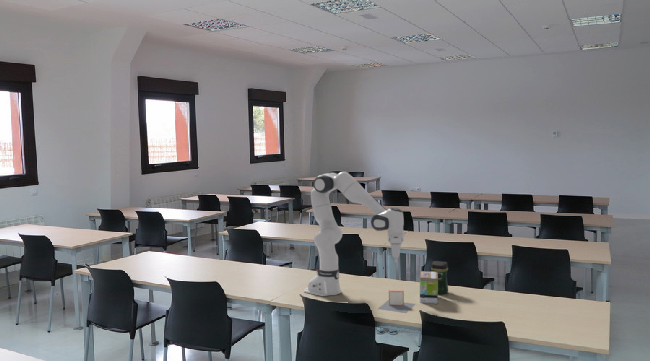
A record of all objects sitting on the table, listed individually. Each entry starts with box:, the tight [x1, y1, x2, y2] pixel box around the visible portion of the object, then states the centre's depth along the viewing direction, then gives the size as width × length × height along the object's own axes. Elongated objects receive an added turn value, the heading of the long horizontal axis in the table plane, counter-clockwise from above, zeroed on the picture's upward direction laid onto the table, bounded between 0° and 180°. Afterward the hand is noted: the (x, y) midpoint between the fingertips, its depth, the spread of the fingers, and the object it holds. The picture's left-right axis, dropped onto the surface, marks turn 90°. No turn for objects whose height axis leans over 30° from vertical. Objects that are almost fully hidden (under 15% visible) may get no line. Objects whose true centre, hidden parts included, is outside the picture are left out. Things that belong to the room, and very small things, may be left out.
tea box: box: [419, 270, 439, 305], centre depth 294 cm, size 15×10×15 cm, turn 168°
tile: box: [388, 289, 405, 306], centre depth 284 cm, size 2×8×8 cm, turn 83°
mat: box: [377, 299, 416, 314], centre depth 282 cm, size 16×16×1 cm
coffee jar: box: [430, 260, 449, 295], centre depth 307 cm, size 10×8×19 cm
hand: (395, 262), depth 288 cm, fingers open, 2 cm apart
